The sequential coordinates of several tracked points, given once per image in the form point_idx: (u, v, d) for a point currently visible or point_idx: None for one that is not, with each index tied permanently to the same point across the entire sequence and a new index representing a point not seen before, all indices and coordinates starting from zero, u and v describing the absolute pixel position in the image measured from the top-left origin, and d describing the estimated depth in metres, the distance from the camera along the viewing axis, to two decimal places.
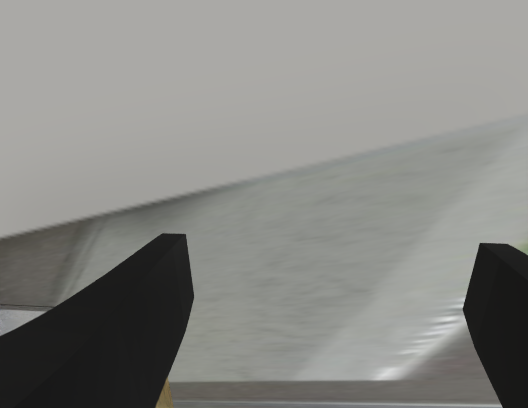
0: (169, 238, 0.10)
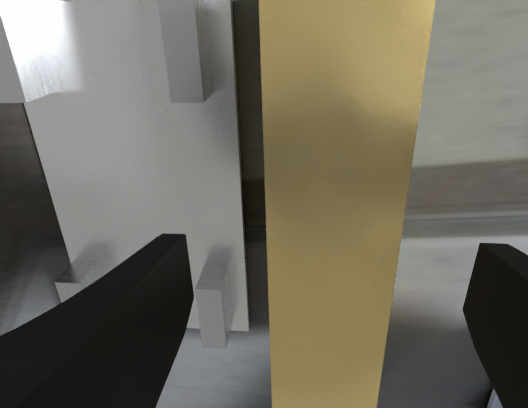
0: (169, 238, 0.10)
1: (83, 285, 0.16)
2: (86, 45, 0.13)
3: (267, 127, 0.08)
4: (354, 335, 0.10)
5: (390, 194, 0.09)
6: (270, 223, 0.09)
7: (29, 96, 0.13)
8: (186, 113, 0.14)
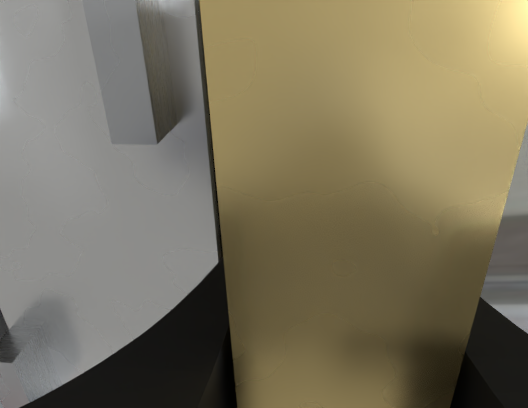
0: None
1: (19, 363, 0.13)
2: (2, 62, 0.10)
3: (228, 228, 0.05)
4: None
5: (440, 332, 0.05)
6: (240, 365, 0.06)
7: None
8: (142, 151, 0.10)
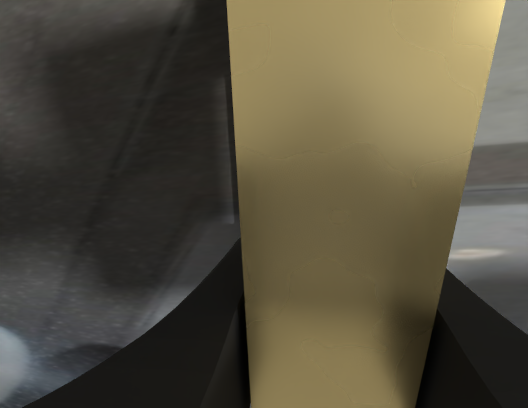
0: None
1: None
2: None
3: (244, 182, 0.06)
4: None
5: (420, 274, 0.06)
6: (251, 306, 0.07)
7: None
8: None
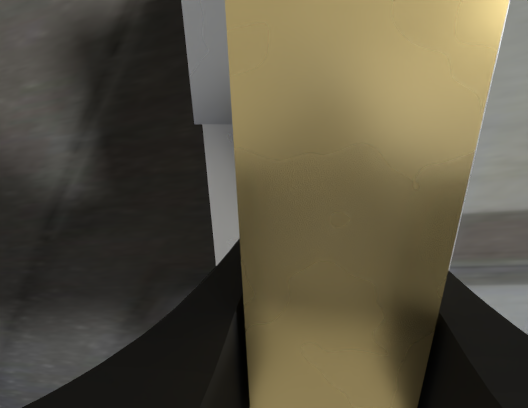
0: None
1: None
2: None
3: (243, 184, 0.06)
4: None
5: (421, 277, 0.06)
6: (250, 310, 0.07)
7: None
8: None
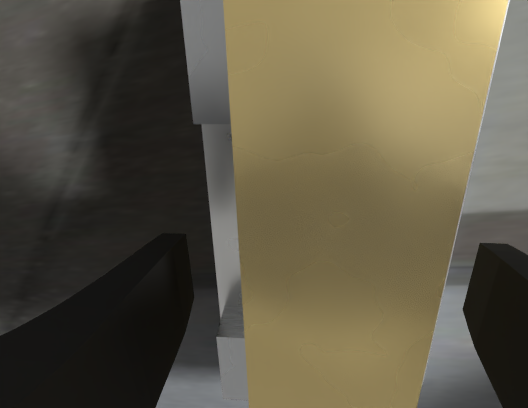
0: (169, 238, 0.10)
1: None
2: None
3: (241, 184, 0.06)
4: None
5: (420, 278, 0.06)
6: (249, 310, 0.07)
7: None
8: None
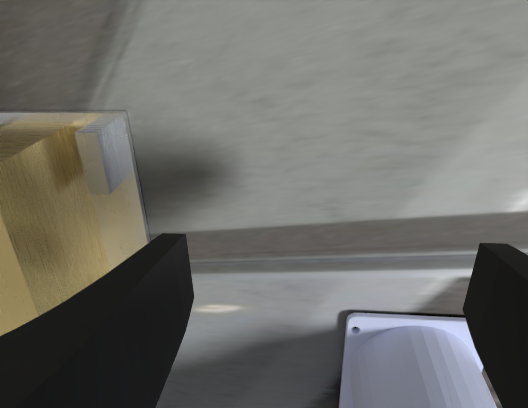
0: (169, 238, 0.10)
1: None
2: None
3: None
4: None
5: (11, 266, 0.16)
6: None
7: None
8: None
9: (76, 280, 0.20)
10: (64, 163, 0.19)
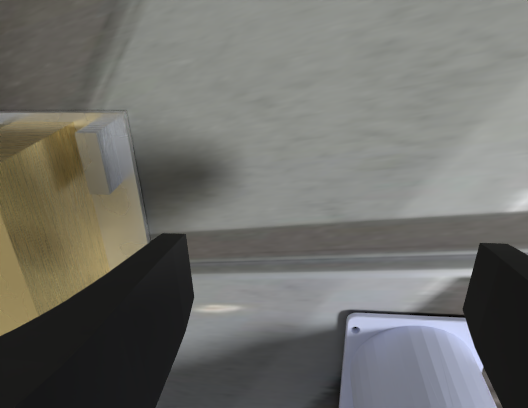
0: (169, 238, 0.10)
1: None
2: None
3: None
4: None
5: (11, 266, 0.16)
6: None
7: None
8: None
9: (76, 280, 0.20)
10: (64, 163, 0.19)
